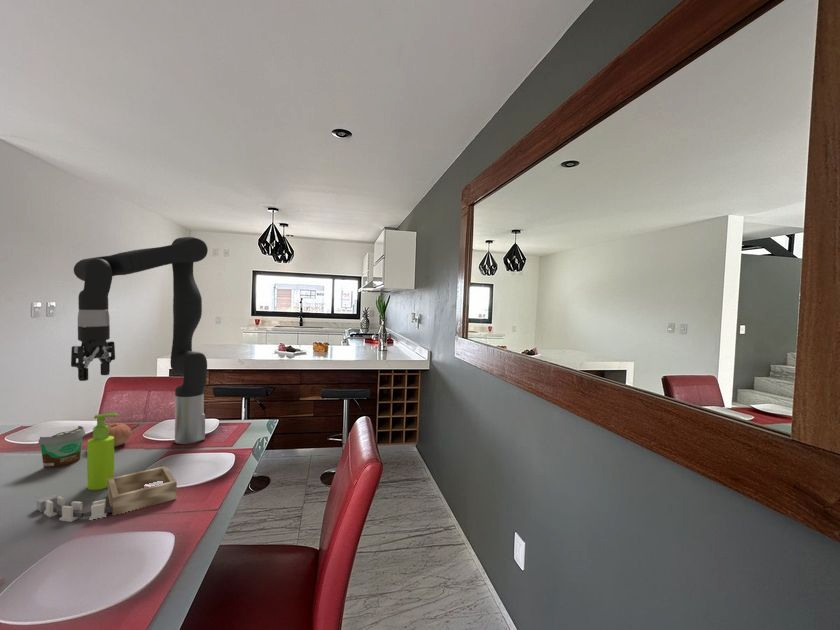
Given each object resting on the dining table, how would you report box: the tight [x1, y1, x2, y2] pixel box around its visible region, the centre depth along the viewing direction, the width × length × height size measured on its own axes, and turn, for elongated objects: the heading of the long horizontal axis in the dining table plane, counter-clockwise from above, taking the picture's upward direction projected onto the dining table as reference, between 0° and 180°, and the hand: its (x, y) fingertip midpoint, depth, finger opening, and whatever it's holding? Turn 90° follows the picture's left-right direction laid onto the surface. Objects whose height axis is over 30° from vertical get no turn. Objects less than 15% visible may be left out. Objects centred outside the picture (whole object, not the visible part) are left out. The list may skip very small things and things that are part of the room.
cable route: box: [36, 493, 112, 523], centre depth 97 cm, size 6×19×3 cm, turn 79°
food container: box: [37, 425, 86, 469], centre depth 126 cm, size 12×6×10 cm, turn 168°
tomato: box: [106, 422, 132, 448], centre depth 141 cm, size 11×11×8 cm
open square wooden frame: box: [107, 465, 178, 516], centre depth 106 cm, size 13×13×4 cm
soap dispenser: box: [86, 412, 120, 491], centre depth 112 cm, size 6×7×20 cm
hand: (94, 377), depth 122 cm, fingers open, 8 cm apart
